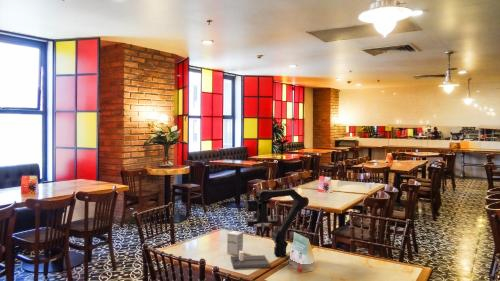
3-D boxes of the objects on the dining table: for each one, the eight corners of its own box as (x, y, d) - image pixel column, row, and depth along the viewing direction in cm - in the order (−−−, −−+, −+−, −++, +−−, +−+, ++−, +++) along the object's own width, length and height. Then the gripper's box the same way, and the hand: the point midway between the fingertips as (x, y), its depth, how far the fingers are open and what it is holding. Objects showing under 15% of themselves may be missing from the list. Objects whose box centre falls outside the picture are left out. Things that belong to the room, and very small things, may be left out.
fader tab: (242, 258, 221) (242, 250, 221) (243, 260, 217) (243, 252, 217) (239, 258, 220) (239, 250, 220) (239, 260, 217) (240, 252, 217)
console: (264, 258, 228) (264, 255, 228) (269, 267, 214) (269, 263, 214) (230, 259, 225) (230, 256, 225) (233, 268, 211) (233, 265, 211)
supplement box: (226, 253, 236) (226, 233, 235) (232, 250, 242) (233, 230, 242) (237, 255, 233) (237, 234, 232) (243, 252, 239) (243, 231, 238)
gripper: (274, 207, 239) (274, 232, 240) (245, 208, 236) (244, 233, 237) (279, 212, 228) (278, 238, 229) (247, 212, 225) (247, 239, 226)
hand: (262, 237), depth 230 cm, fingers closed
